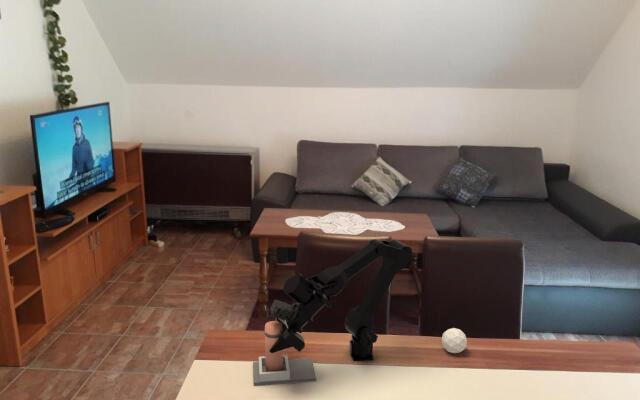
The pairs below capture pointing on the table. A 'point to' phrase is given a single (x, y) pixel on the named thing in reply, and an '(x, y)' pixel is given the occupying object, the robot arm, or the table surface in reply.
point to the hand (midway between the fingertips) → (269, 346)
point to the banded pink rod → (271, 336)
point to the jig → (284, 372)
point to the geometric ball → (454, 340)
